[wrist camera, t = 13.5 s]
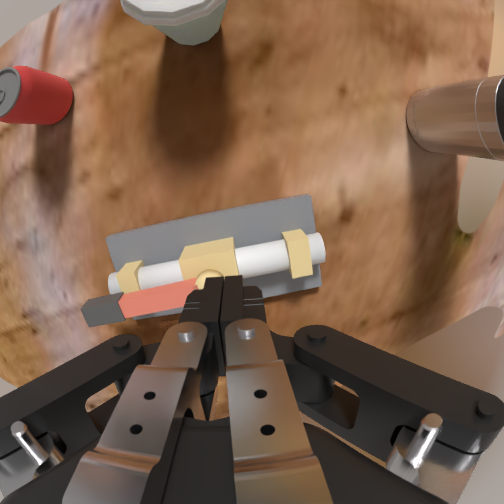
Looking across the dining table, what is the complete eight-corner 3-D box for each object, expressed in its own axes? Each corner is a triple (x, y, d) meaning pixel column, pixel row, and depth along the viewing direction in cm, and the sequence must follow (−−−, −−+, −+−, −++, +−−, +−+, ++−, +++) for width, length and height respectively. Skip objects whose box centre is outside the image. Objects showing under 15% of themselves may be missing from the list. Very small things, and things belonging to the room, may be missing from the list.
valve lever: (221, 265, 32) (220, 274, 30) (229, 292, 33) (229, 302, 31) (87, 296, 32) (79, 306, 30) (97, 319, 33) (90, 330, 31)
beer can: (30, 106, 31) (-25, 101, 19) (58, 69, 30) (7, 51, 18) (53, 134, 33) (-3, 135, 21) (83, 96, 32) (32, 83, 20)
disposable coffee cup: (251, 9, 29) (262, -56, 15) (210, 76, 32) (197, 32, 18) (177, -15, 27) (154, -79, 13) (136, 49, 30) (87, 4, 16)
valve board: (307, 193, 38) (324, 204, 31) (318, 281, 42) (334, 306, 35) (109, 235, 38) (87, 252, 31) (136, 314, 42) (121, 343, 35)
